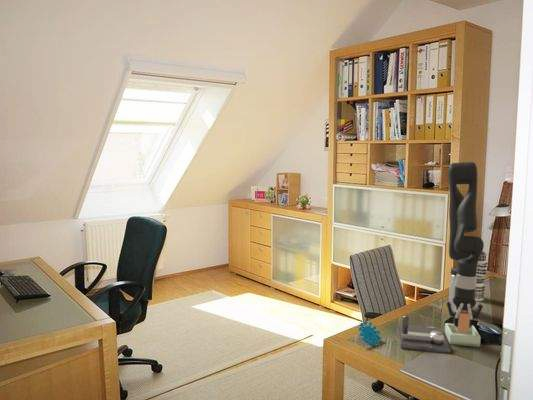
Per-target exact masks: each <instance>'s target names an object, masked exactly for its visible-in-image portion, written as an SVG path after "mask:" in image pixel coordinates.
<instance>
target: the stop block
mask: <svg viewBox="0 0 533 400" xmlns="http://www.w3.org/2000/svg"><path fill="white" fill-rule="evenodd" d="M469 324H470V314H469V313H468V312H467V311H461V312H460V313H459V316H458V327H456V330H457V332H458V333H469Z"/></svg>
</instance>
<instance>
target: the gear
mask: <svg viewBox="0 0 533 400" xmlns="http://www.w3.org/2000/svg"><path fill="white" fill-rule="evenodd" d="M372 325H373V323H372V322H371V321H369V322H368V321H367V320H364V321H363V322H361V323H359V327H358V328H357V330H358V331H360V332H359V334H358V335H359V336H360V337H361V341H362V342H363V343H364V342H366V341H367V342H366V344H367V346H373V347H375V346H377V345H379V344H380V340H381V339H382V337H381V336H379V335H380V334H381V333H382V330H381V329H378V330H377V326H376V325H373V326H372ZM371 326H372V327H371Z"/></svg>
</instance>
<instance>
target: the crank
mask: <svg viewBox="0 0 533 400" xmlns="http://www.w3.org/2000/svg"><path fill="white" fill-rule="evenodd" d="M409 321H410V317H409V315H405V314H404V315H403V316H402V324H403V325H402V338H410V339H420V340H430V341H431V342H433V343H436V344H442V343H443V342H444V336H445V333H444V332H443V331H442V332H443V333H442V332H439V331H431V332H430V334H428V333H418V332H408V325H409Z"/></svg>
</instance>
